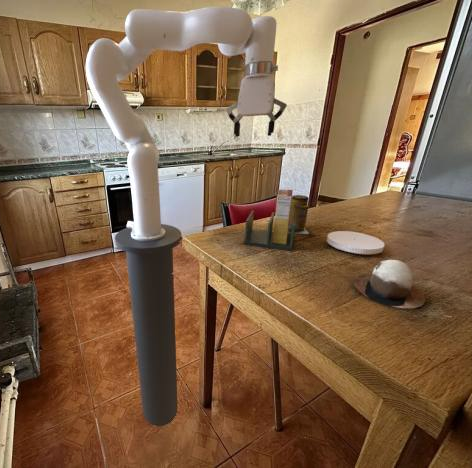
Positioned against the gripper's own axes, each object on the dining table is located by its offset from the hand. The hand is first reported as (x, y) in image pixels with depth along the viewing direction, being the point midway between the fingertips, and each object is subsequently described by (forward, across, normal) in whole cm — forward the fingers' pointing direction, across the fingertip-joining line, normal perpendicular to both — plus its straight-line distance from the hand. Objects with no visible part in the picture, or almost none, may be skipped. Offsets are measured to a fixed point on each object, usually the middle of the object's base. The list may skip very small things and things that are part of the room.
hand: (252, 136), depth 80 cm
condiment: (+32, -16, -9) cm, 37 cm away
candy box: (+32, -12, +4) cm, 34 cm away
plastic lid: (+32, -32, +1) cm, 46 cm away
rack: (+32, -8, +4) cm, 34 cm away
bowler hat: (+32, -35, +25) cm, 54 cm away
